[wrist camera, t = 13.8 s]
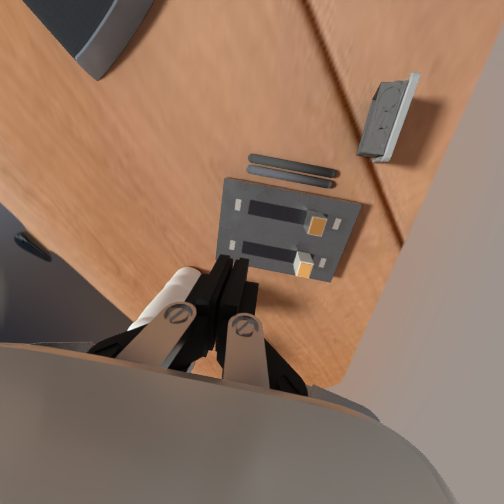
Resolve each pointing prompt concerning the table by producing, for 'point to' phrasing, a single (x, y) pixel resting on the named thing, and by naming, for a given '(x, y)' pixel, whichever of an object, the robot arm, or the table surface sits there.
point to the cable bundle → (290, 166)
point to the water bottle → (169, 294)
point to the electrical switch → (387, 118)
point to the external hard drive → (92, 28)
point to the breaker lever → (303, 264)
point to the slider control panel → (283, 227)
